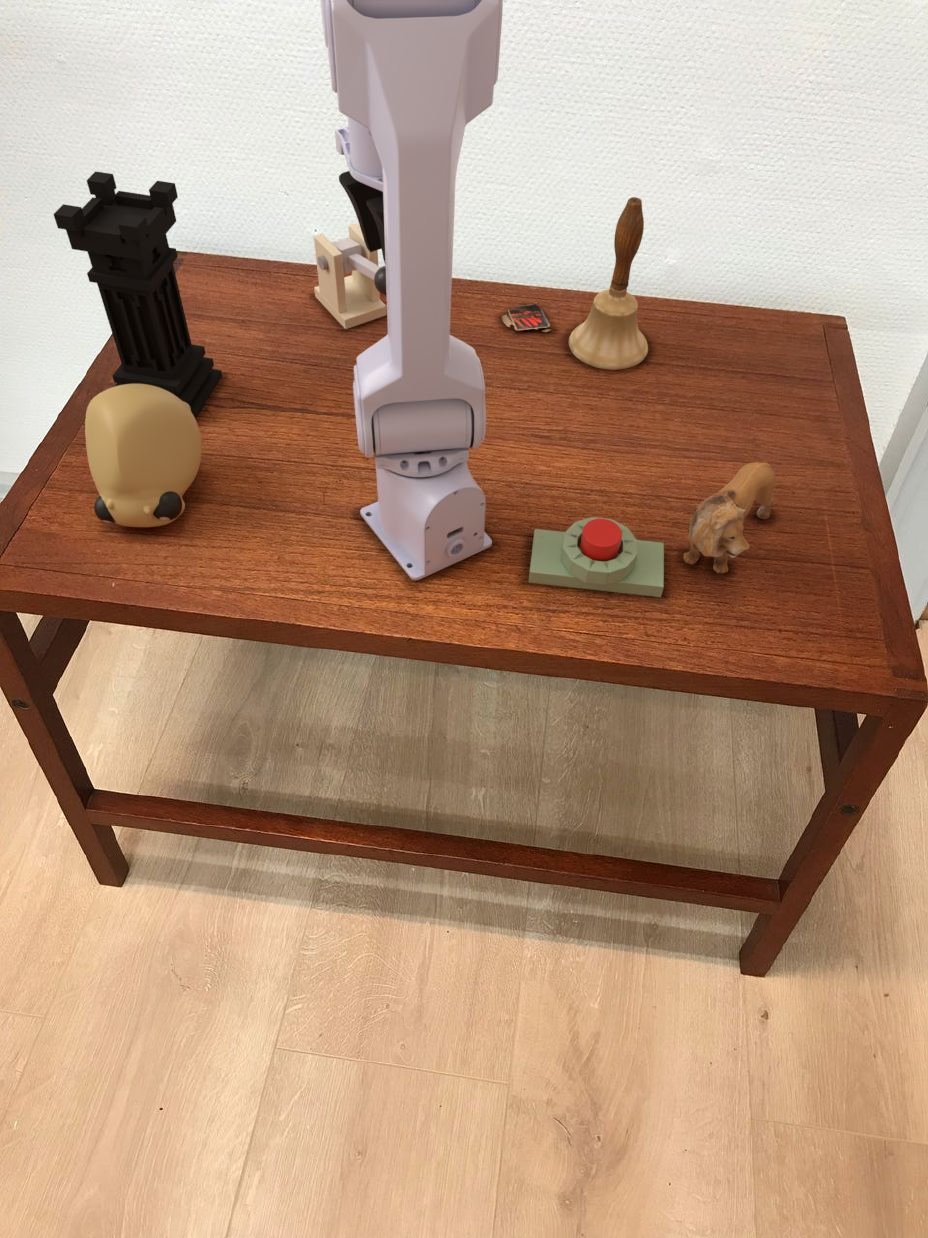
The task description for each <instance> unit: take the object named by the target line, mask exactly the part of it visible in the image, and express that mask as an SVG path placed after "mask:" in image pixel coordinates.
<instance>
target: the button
mask: <svg viewBox="0 0 928 1238" xmlns="http://www.w3.org/2000/svg"><path fill="white" fill-rule="evenodd" d="M607 519H608V518H607ZM607 519H594V520H591V521H589V522H588V523H586V525H585V526H584V528H583V532H582V538H581V544H580V546H581V550H582V551H583V553H584V554H585V555H586V556H587V557H589V558H591V559H593V560H597V561H607V560H610V559H612V558H614V557H615V556H616V555H617V554H618V552H619V548H620V544H621V539H622V531H621V529H620V527H619V526H618V525H617V524H616V523H614V522H613V521H611V520H607Z"/></svg>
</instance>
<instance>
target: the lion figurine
mask: <svg viewBox="0 0 928 1238" xmlns="http://www.w3.org/2000/svg"><path fill="white" fill-rule="evenodd" d="M775 486H776V473H775V471H774V470H773V469H772V466H771V464H770V463H768V462H759V461H754V462H750V463H747V464H745V465H743V466H742V467H740V468H739V470H738V471H737V472H736V474H735V475H734V477H733V478H732V479H731V480H730V481H729V482H728V483H727V484H726V485H725V486H723V487H722V488H721V489H720V490H719V491H718V492H717V493H714V494H711V495H709V496H707V498H706V499H704V500H702V501H701V502H700V503H699V504H698V505H696V506H695V507H694V509H693V510H694V511H693V512H692V513H691V517H690V519H689V521H688V526H687V538H688V540H689V542H690V543H689V551H686V552H684V553H683V554H682V560H683V561H684V563H686V564H688V565H694V564H696V563H697V561H698V560H699V559H700V554H702V555H703V556H704V557H706V558H707V557H708V558H709V557H710V558H711V557H713V565H712V567H713V568H712V569H713V571H715V572H716V573H717V574H725V573H728V571H729V567H728V560H729V558H731V559H734V558H736V557H738V556H739V554H741V553H743V552H744V551H748V549H750V544H749V542H748V541H747V540H746V539H745V537H744V535H743V534H744V529H745V527H744V524H745V522H744V520H745V519H746V517H747V516H748V514H749V513H750V511H751V509H752V507H753V505H754V502H756V503H758V504H759V505H760V507H759V508H758V509H757V511H756V516H757V517H758V518H759V519H761V520H768V519H769V518H770V516H771V510H772V506H773V504H774V502H775V496H774V492H775V488H776V487H775Z"/></svg>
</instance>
